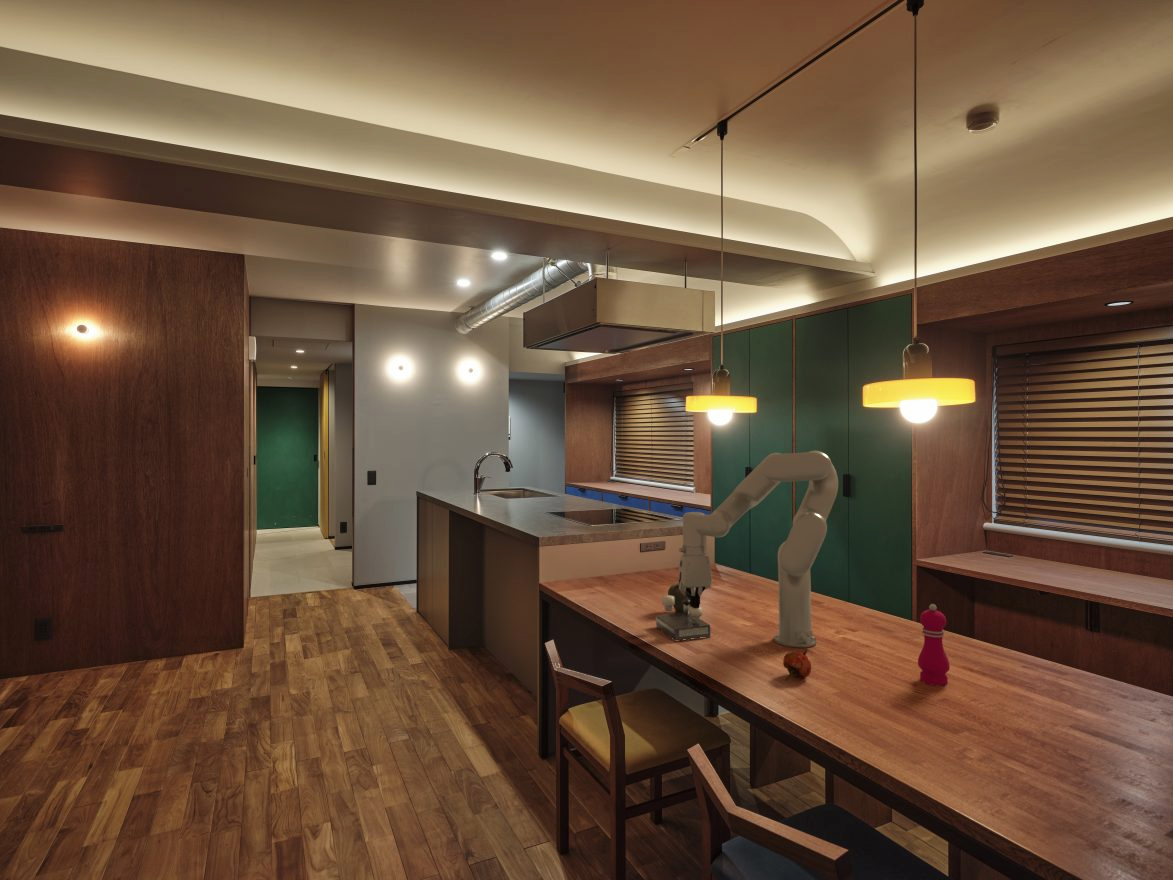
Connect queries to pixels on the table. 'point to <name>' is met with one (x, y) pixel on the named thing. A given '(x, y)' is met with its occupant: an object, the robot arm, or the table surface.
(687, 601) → the dark brown round knob
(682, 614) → the mount
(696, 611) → the knob
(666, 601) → the knob
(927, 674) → the pepper mill
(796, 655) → the red round fruit
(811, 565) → the robot arm
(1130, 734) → the table surface
